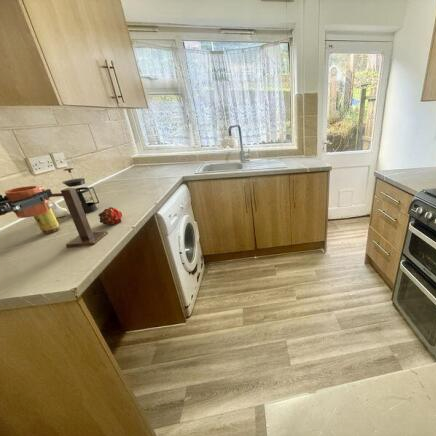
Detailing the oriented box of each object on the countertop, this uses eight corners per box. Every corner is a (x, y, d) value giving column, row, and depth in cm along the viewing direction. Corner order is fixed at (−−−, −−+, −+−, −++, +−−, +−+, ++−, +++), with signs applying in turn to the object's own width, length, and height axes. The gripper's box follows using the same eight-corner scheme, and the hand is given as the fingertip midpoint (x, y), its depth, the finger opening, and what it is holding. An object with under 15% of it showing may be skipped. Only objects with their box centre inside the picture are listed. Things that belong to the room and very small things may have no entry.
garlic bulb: (68, 216, 125) (61, 201, 121) (52, 219, 122) (44, 204, 118) (69, 212, 129) (63, 198, 126) (54, 215, 126) (47, 201, 123)
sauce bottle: (41, 231, 109) (19, 189, 101) (60, 226, 113) (39, 185, 105) (43, 235, 105) (19, 192, 97) (61, 230, 109) (40, 188, 101)
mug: (36, 217, 84) (24, 192, 80) (10, 218, 83) (-4, 193, 79) (63, 204, 95) (53, 182, 91) (40, 206, 94) (29, 183, 91)
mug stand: (41, 249, 94) (13, 195, 85) (60, 237, 103) (37, 187, 94) (94, 245, 96) (72, 192, 87) (108, 234, 105) (90, 184, 96)
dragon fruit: (109, 232, 110) (117, 225, 121) (123, 219, 111) (129, 213, 121) (90, 220, 106) (100, 214, 117) (105, 206, 107) (113, 201, 118)
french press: (75, 216, 124) (55, 172, 115) (73, 212, 130) (53, 169, 121) (102, 209, 132) (85, 167, 122) (99, 205, 138) (83, 165, 128)
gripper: (-65, 232, 69) (10, 204, 89) (17, 227, 71) (72, 201, 91) (-82, 207, 66) (-1, 185, 86) (4, 202, 68) (64, 181, 88)
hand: (37, 193), depth 89 cm, fingers closed on mug, 8 cm apart
